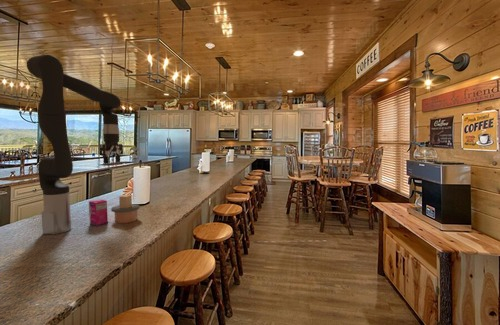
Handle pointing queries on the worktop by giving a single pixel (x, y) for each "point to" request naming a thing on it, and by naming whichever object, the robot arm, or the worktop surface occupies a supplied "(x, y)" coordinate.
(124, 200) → the lid
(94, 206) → the supplement box
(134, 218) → the bowl
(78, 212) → the worktop surface
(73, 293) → the worktop surface
